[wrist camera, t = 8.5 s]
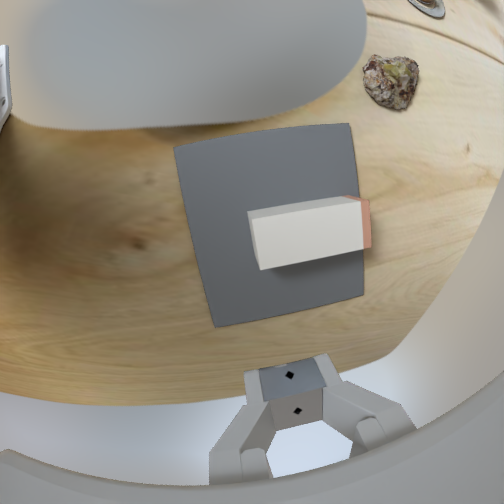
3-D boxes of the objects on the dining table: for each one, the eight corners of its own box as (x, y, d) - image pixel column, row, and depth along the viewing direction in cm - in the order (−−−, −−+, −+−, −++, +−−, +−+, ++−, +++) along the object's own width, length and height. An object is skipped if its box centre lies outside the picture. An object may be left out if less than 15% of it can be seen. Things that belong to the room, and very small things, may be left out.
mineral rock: (394, 123, 26) (367, 64, 22) (372, 120, 30) (344, 67, 26) (435, 91, 26) (414, 40, 21) (414, 90, 29) (392, 43, 25)
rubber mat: (174, 147, 27) (173, 147, 27) (346, 123, 28) (349, 123, 28) (214, 325, 34) (214, 327, 33) (361, 292, 35) (363, 294, 34)
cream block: (251, 219, 25) (368, 200, 25) (247, 211, 29) (348, 195, 30) (260, 270, 26) (371, 247, 27) (254, 254, 31) (351, 235, 32)
